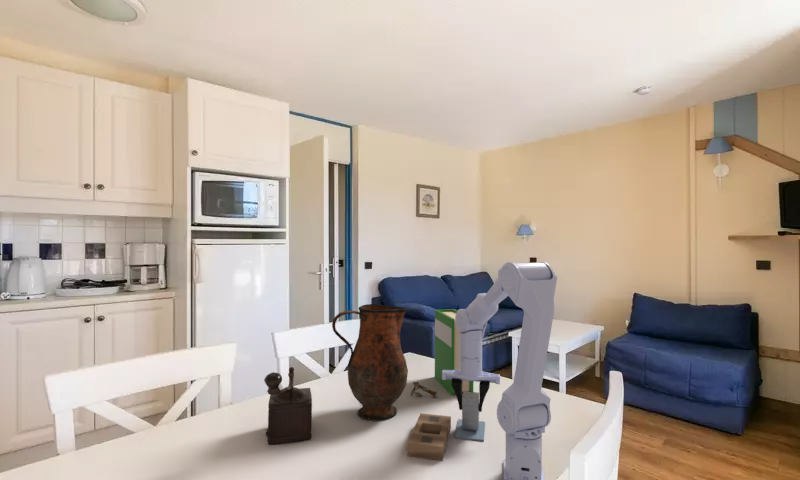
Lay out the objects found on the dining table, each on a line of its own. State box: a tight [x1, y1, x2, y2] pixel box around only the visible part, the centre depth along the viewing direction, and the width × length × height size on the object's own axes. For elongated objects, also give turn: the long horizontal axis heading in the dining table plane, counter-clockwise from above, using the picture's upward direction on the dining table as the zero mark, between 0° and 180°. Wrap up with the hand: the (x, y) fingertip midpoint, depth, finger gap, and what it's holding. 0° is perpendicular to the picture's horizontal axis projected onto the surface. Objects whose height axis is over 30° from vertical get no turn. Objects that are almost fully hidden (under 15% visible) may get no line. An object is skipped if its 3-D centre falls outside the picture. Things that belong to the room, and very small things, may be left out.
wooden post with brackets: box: [410, 381, 438, 399], centre depth 125 cm, size 2×8×4 cm, turn 84°
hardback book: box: [434, 308, 474, 396], centre depth 136 cm, size 18×7×24 cm, turn 12°
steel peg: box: [461, 391, 480, 430], centre depth 103 cm, size 4×4×8 cm
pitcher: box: [331, 303, 409, 422], centre depth 112 cm, size 17×21×30 cm
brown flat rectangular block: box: [406, 412, 452, 462], centre depth 97 cm, size 16×8×3 cm, turn 166°
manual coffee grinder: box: [263, 366, 313, 445], centre depth 99 cm, size 16×11×18 cm
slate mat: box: [454, 418, 486, 442], centre depth 103 cm, size 10×7×1 cm
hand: (470, 409), depth 103 cm, fingers open, 4 cm apart
